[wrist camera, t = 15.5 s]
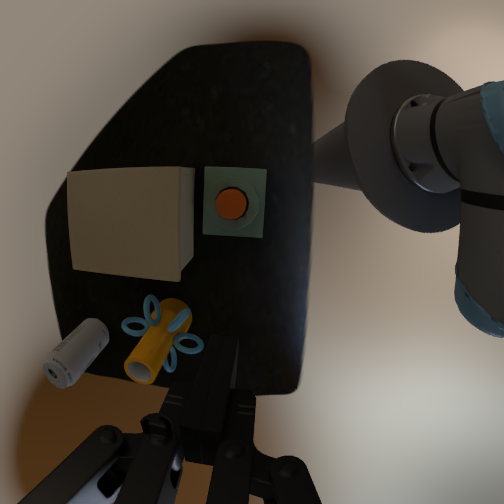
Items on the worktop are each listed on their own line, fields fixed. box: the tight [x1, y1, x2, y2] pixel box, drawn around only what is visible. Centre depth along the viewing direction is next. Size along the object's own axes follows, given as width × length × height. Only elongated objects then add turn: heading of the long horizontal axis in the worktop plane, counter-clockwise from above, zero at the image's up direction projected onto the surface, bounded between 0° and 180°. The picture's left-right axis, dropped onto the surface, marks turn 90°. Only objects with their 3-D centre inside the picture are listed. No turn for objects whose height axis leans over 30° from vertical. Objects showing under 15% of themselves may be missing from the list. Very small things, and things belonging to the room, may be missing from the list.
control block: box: [203, 167, 267, 238], centre depth 36 cm, size 8×9×4 cm
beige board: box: [67, 167, 181, 282], centre depth 30 cm, size 15×13×1 cm
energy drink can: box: [43, 318, 109, 389], centre depth 38 cm, size 6×6×15 cm
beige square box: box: [180, 167, 195, 270], centre depth 35 cm, size 15×13×9 cm
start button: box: [216, 189, 247, 219], centre depth 34 cm, size 4×4×2 cm
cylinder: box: [122, 295, 204, 384], centre depth 36 cm, size 12×10×15 cm
